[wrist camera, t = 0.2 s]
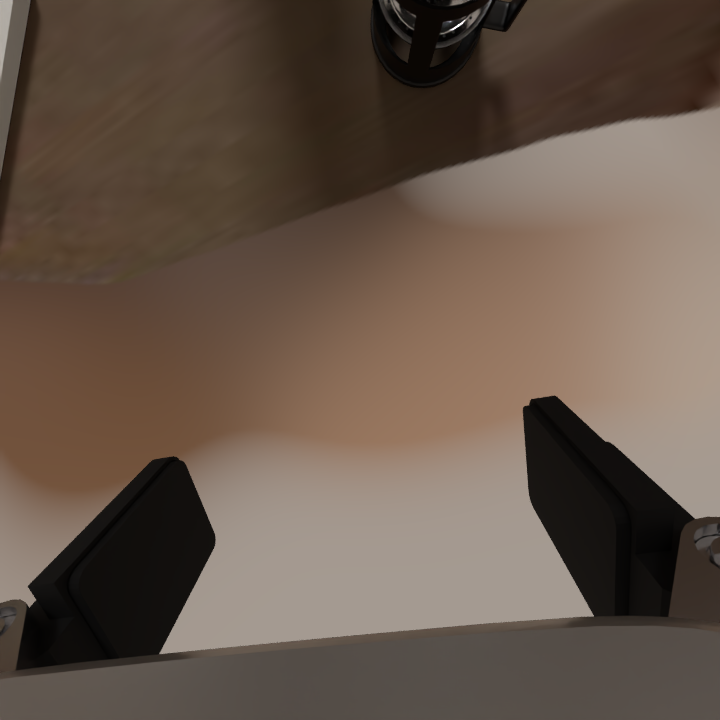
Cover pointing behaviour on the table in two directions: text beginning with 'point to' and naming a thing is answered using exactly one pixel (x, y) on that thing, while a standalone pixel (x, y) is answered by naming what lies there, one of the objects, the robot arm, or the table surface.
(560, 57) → the table surface
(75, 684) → the robot arm
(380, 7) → the french press
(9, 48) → the white base with posts
